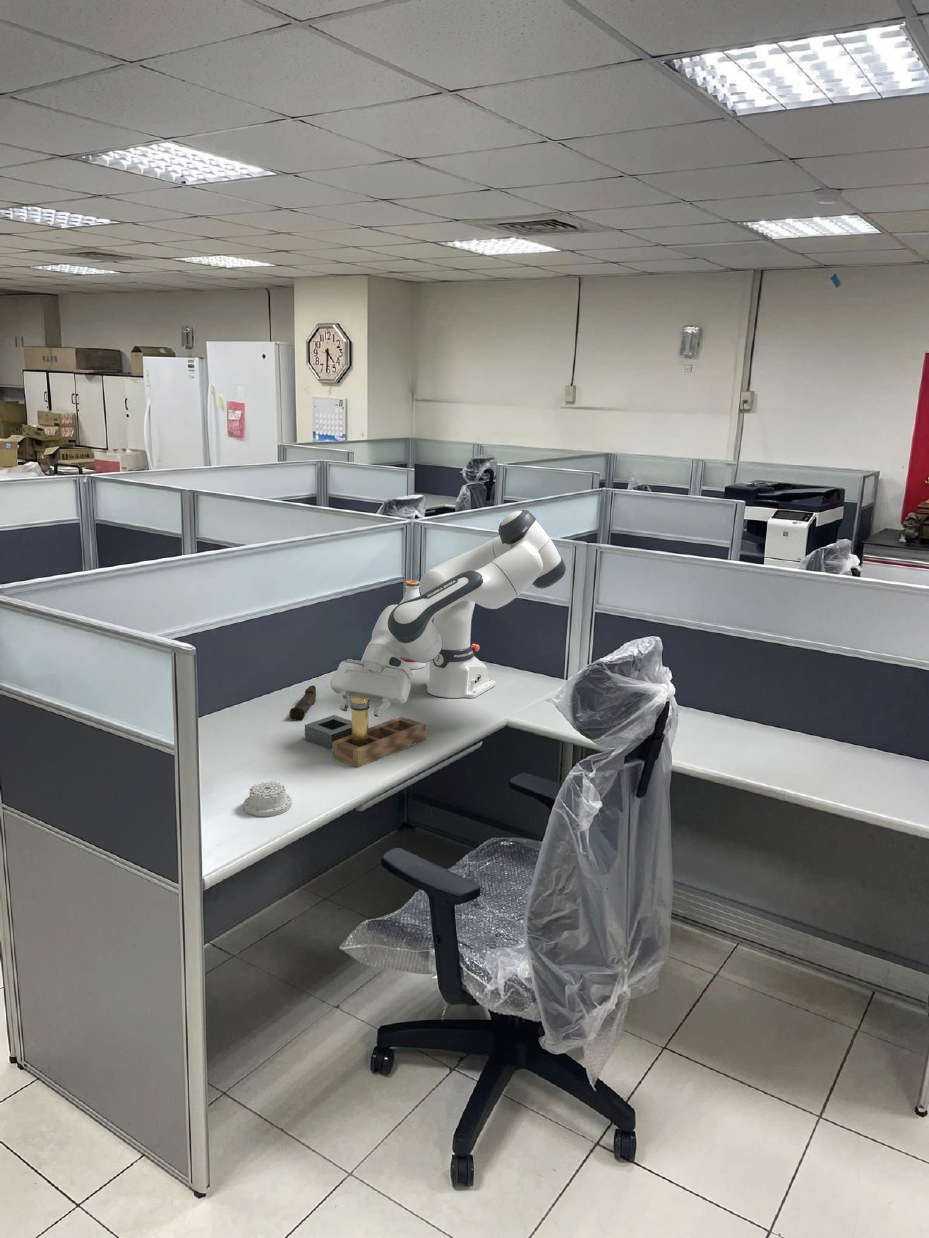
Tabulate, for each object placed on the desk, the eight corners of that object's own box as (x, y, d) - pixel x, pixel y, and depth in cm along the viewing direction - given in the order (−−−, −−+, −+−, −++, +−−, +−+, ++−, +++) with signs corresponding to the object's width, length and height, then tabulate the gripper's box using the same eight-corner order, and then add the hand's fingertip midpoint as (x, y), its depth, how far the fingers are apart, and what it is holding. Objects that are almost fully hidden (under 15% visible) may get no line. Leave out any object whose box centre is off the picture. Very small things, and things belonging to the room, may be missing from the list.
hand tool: (304, 722, 239) (303, 705, 238) (289, 721, 239) (289, 704, 238) (323, 699, 257) (323, 684, 256) (310, 698, 257) (310, 683, 256)
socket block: (334, 729, 233) (334, 714, 232) (360, 738, 227) (360, 724, 226) (305, 739, 226) (304, 724, 225) (331, 749, 220) (331, 734, 219)
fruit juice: (427, 669, 287) (429, 584, 280) (398, 670, 285) (399, 584, 278) (424, 660, 296) (425, 578, 289) (396, 661, 294) (396, 578, 287)
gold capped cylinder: (357, 751, 219) (356, 693, 216) (373, 754, 217) (373, 696, 214) (346, 757, 215) (346, 699, 212) (363, 761, 213) (362, 702, 210)
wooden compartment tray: (400, 730, 233) (400, 716, 232) (426, 739, 228) (426, 724, 227) (332, 757, 215) (332, 741, 214) (358, 767, 210) (358, 751, 209)
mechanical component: (299, 800, 193) (258, 794, 195) (299, 781, 192) (257, 775, 194) (278, 820, 183) (235, 813, 186) (277, 801, 182) (234, 794, 185)
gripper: (337, 651, 222) (317, 700, 216) (411, 662, 215) (392, 713, 208) (347, 664, 227) (327, 711, 221) (419, 675, 220) (400, 725, 213)
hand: (359, 712), depth 215 cm, fingers open, 8 cm apart
